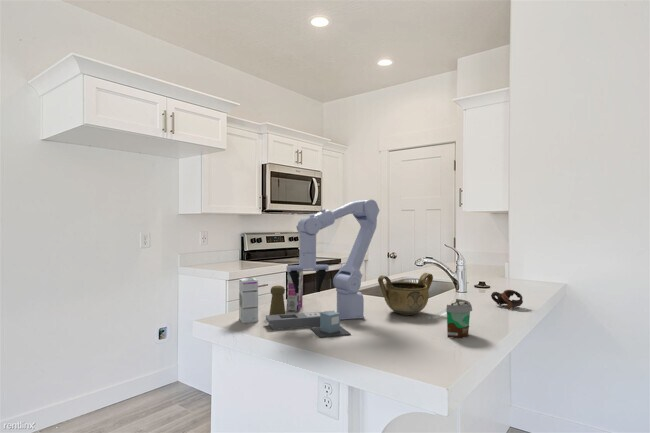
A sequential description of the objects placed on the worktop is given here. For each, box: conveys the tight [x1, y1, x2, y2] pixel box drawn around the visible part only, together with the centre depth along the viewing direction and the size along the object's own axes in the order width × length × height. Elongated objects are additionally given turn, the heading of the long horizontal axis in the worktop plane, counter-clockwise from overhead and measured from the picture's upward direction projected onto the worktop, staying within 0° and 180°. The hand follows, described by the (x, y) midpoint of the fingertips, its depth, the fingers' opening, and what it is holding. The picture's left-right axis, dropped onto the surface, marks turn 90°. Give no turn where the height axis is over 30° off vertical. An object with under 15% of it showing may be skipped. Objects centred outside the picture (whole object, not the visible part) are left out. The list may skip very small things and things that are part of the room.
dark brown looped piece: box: [490, 289, 524, 310], centre depth 162 cm, size 12×10×8 cm
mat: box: [310, 325, 352, 339], centre depth 123 cm, size 10×10×1 cm
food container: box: [445, 298, 473, 339], centre depth 121 cm, size 12×6×10 cm, turn 148°
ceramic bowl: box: [377, 272, 434, 316], centre depth 149 cm, size 22×17×15 cm
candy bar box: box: [285, 269, 304, 313], centre depth 155 cm, size 11×5×16 cm, turn 175°
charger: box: [319, 310, 341, 333], centre depth 123 cm, size 4×4×6 cm
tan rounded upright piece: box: [268, 285, 286, 315], centre depth 143 cm, size 6×6×11 cm
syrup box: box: [238, 277, 259, 324], centre depth 136 cm, size 6×6×14 cm
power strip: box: [265, 310, 335, 330], centre depth 132 cm, size 24×7×4 cm, turn 108°
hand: (307, 292), depth 134 cm, fingers open, 7 cm apart
